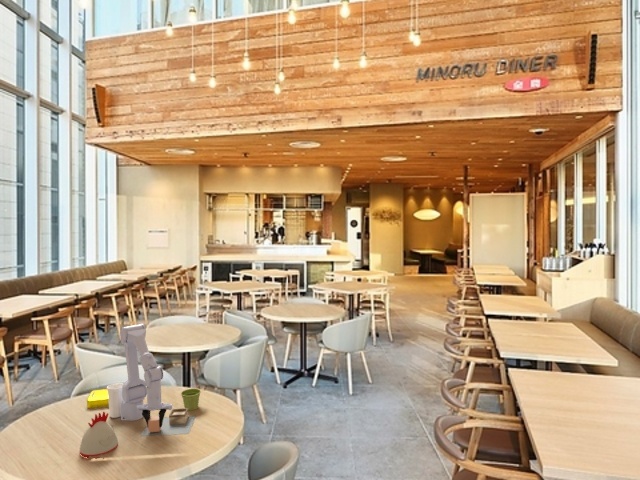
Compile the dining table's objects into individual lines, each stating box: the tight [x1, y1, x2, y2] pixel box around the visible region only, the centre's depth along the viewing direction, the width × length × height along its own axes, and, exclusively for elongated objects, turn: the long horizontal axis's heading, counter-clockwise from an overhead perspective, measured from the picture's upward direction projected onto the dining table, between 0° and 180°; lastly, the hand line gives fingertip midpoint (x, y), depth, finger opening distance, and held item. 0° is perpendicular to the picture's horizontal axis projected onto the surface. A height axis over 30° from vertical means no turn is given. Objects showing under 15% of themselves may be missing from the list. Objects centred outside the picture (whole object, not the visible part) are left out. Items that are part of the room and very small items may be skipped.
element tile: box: [86, 388, 109, 409], centre depth 237 cm, size 15×15×5 cm
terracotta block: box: [148, 415, 161, 432], centre depth 201 cm, size 4×4×5 cm
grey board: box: [140, 415, 197, 437], centre depth 206 cm, size 20×18×1 cm
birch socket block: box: [168, 407, 189, 424], centre depth 212 cm, size 7×7×4 cm
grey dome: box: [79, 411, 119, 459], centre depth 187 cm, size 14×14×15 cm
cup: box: [106, 382, 125, 419], centre depth 220 cm, size 8×8×14 cm
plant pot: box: [180, 388, 202, 411], centre depth 226 cm, size 9×9×9 cm
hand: (155, 426), depth 201 cm, fingers closed on terracotta block, 4 cm apart
